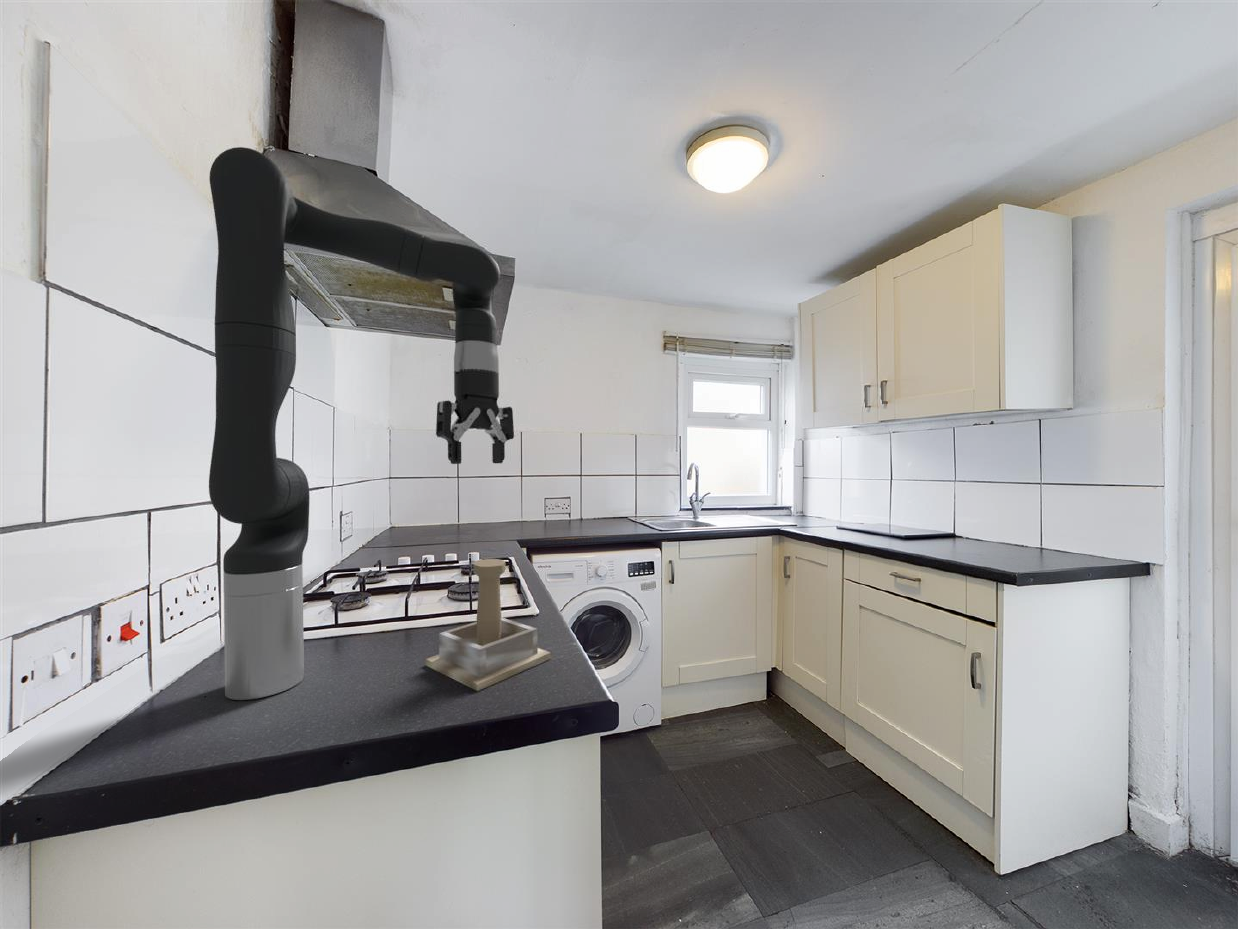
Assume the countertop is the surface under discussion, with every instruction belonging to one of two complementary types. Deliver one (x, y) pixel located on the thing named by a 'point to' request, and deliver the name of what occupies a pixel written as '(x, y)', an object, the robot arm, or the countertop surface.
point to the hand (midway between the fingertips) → (477, 463)
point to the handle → (489, 600)
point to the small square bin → (487, 654)
